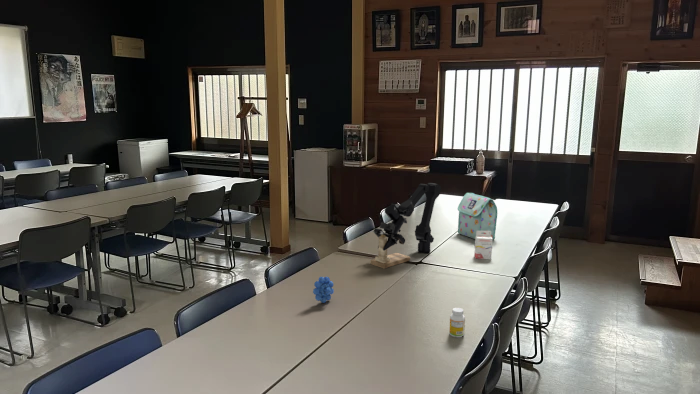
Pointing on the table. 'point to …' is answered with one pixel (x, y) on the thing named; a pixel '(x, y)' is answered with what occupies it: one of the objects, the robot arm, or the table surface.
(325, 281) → the blue knobbly wheel
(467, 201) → the lunch bag
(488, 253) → the ink cartridge box
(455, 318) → the supplement bottle
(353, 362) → the table surface
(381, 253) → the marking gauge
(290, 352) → the table surface
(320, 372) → the table surface
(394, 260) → the oak board
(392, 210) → the robot arm
